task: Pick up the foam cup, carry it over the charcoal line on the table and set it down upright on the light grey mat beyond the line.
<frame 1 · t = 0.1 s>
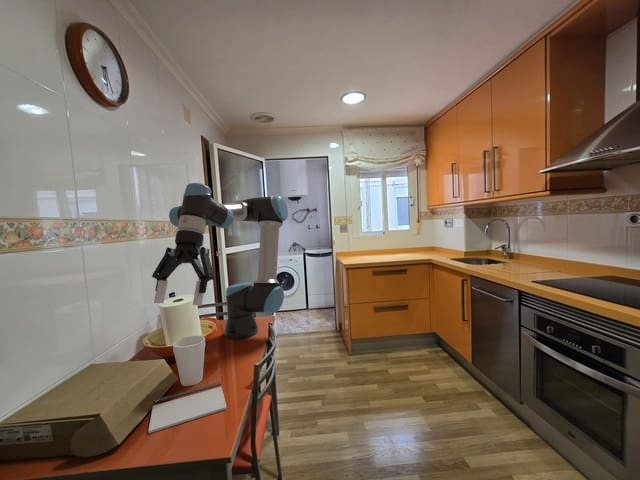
hand: (177, 304, 79), 28 cm above the table, tool tilted 20°, fingers open, 13 cm apart
foam cup: (192, 381, 90), on the table
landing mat: (189, 408, 76), on the table
foul line: (188, 392, 83), on the table
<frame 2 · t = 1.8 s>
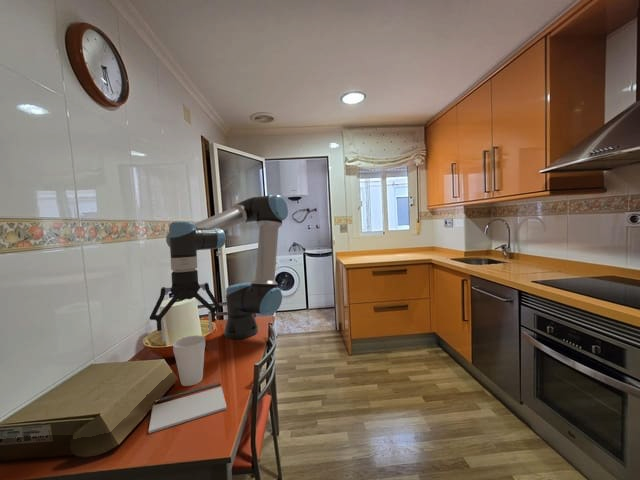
hand: (188, 336, 89), 15 cm above the table, tool pointing down, fingers open, 13 cm apart
nothing on the table moved.
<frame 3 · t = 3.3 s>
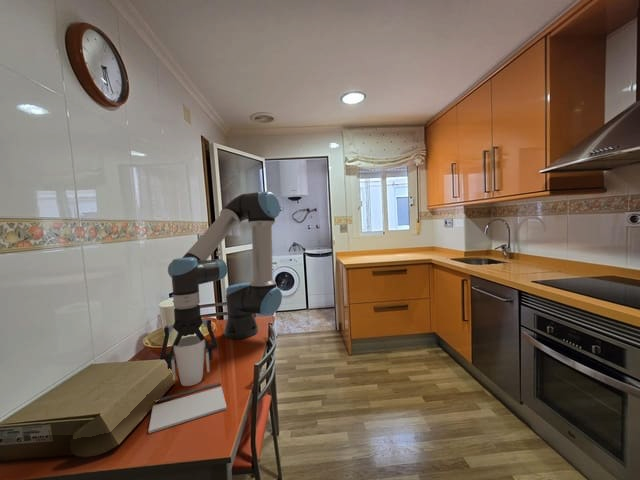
hand: (191, 374, 90), 2 cm above the table, tool pointing down, fingers closed on foam cup, 9 cm apart
foam cup: (192, 381, 90), on the table, touching gripper
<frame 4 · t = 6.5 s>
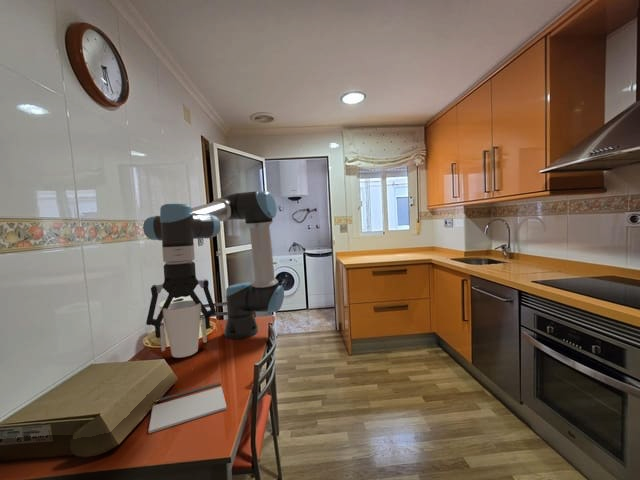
hand: (184, 344, 75), 18 cm above the table, tool pointing down, fingers closed on foam cup, 9 cm apart
foam cup: (185, 352, 75), point 15 cm above the table, touching gripper
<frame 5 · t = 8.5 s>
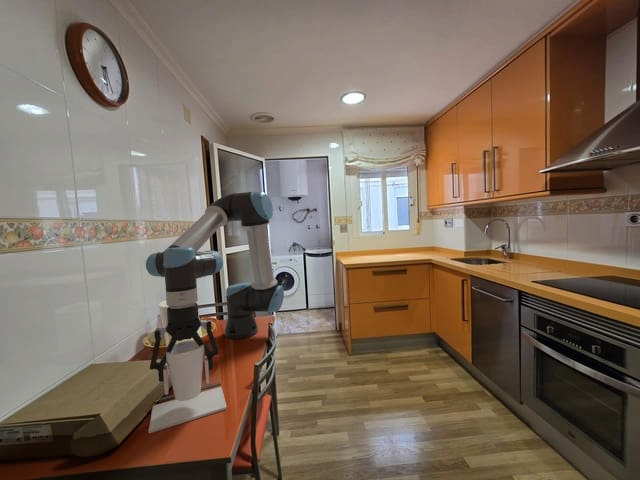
hand: (187, 386, 75), 6 cm above the table, tool pointing down, fingers closed on foam cup, 9 cm apart
foam cup: (188, 394, 75), point 4 cm above the table, touching gripper
when the fingers open (4 cm above the table, at t = 9.9 s): foam cup drops 1 cm, resting on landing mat.
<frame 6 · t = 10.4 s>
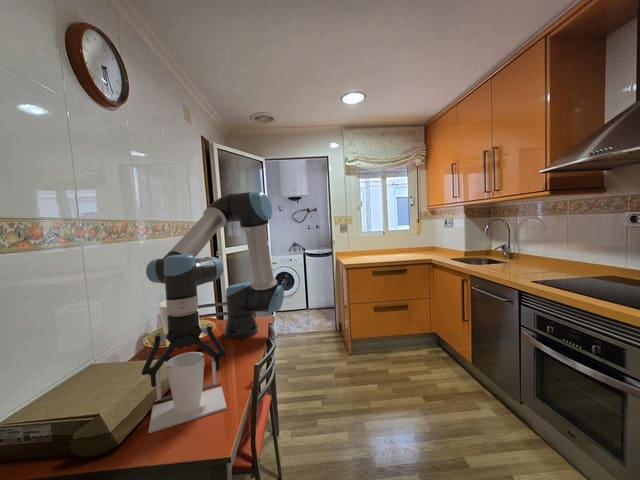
hand: (188, 389, 75), 5 cm above the table, tool pointing down, fingers open, 13 cm apart
foam cup: (188, 407, 76), resting on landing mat
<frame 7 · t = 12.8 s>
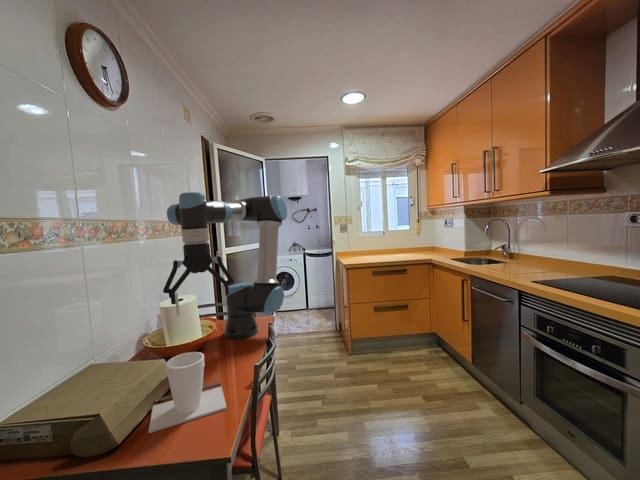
hand: (202, 309, 88), 23 cm above the table, tool pointing down, fingers open, 13 cm apart
nothing on the table moved.
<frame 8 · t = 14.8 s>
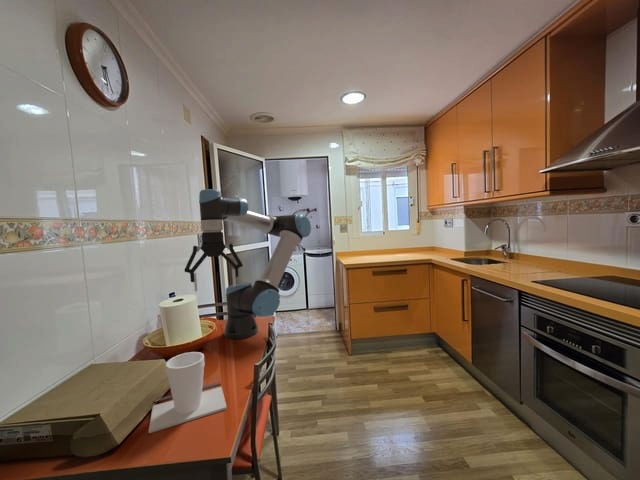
hand: (215, 288, 104), 27 cm above the table, tool pointing down, fingers open, 13 cm apart
nothing on the table moved.
at the end: foam cup inside the target area (1.0 cm from its centre), resting on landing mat; foam cup tilted 0°; the gripper is holding nothing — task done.
